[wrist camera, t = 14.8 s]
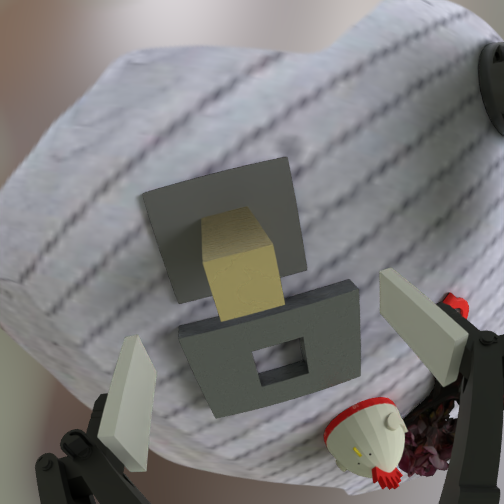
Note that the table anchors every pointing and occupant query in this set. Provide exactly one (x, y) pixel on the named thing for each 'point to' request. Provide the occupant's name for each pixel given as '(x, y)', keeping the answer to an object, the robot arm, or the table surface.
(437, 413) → the flower arrangement
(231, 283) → the brass plug
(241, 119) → the table surface
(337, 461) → the kitchen timer
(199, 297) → the rubber mat
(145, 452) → the robot arm
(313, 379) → the socket plate
